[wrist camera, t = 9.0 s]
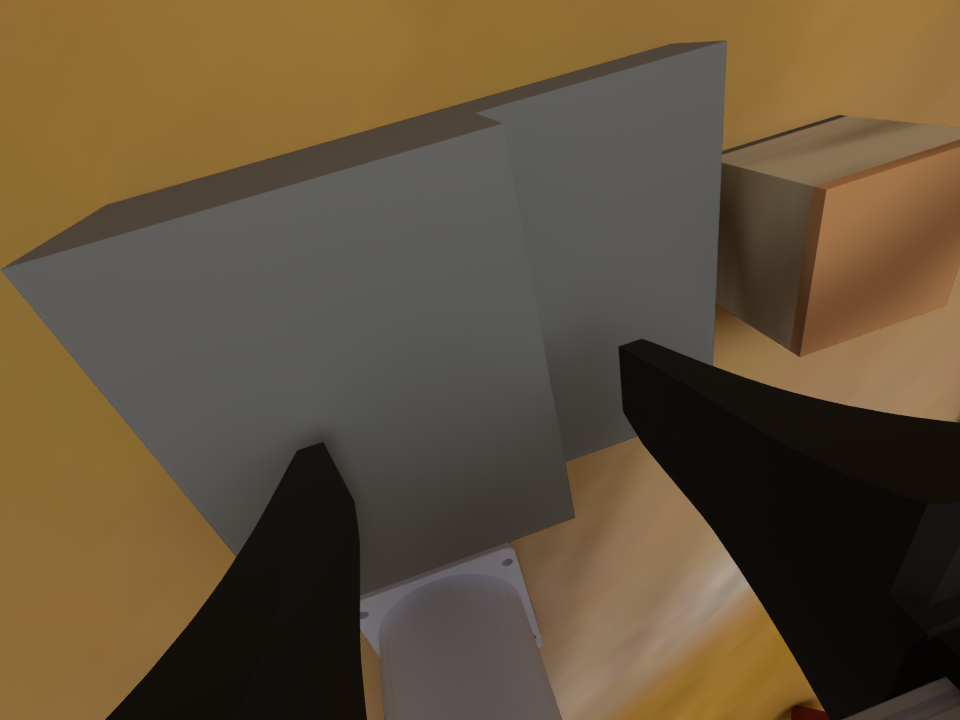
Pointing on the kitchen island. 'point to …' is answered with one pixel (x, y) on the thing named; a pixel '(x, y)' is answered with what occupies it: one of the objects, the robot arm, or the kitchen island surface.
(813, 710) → the onion
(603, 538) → the kitchen island surface
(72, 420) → the kitchen island surface
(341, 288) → the slate step stand
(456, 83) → the kitchen island surface
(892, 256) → the maple cube
